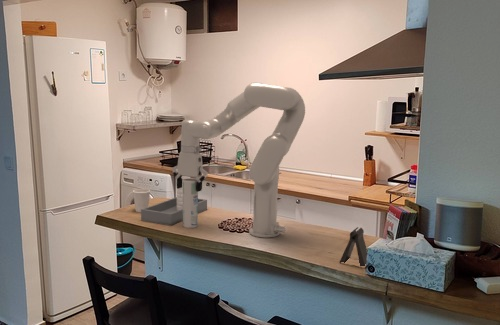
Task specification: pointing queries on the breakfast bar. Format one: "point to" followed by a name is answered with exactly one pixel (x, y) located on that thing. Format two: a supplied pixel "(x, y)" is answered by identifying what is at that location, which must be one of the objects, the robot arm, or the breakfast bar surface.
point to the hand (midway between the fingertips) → (189, 189)
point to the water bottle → (180, 194)
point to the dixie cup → (141, 198)
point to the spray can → (190, 203)
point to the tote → (168, 212)
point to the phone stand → (360, 244)
